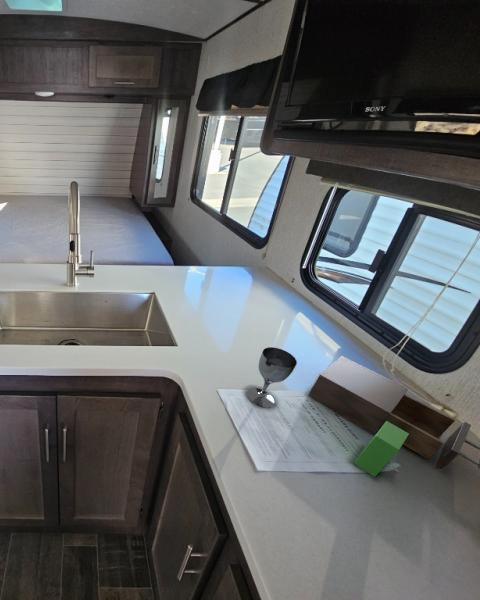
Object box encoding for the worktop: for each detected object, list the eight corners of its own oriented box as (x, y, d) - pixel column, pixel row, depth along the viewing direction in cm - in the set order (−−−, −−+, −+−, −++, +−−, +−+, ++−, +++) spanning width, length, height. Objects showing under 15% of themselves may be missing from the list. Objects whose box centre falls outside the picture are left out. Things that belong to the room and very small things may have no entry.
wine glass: (267, 413, 86) (288, 372, 78) (239, 394, 91) (256, 354, 83) (281, 400, 90) (302, 359, 82) (254, 383, 95) (271, 343, 88)
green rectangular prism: (384, 460, 75) (409, 433, 70) (374, 477, 72) (399, 449, 66) (364, 447, 78) (386, 420, 73) (353, 463, 74) (375, 435, 69)
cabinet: (392, 409, 89) (408, 388, 84) (373, 434, 81) (390, 413, 77) (329, 375, 99) (341, 355, 95) (307, 395, 92) (319, 374, 88)
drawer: (483, 456, 76) (502, 440, 73) (471, 488, 69) (492, 472, 66) (382, 402, 89) (395, 386, 86) (365, 425, 83) (377, 408, 79)
